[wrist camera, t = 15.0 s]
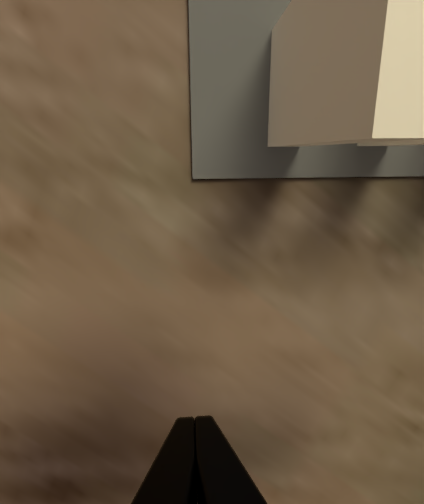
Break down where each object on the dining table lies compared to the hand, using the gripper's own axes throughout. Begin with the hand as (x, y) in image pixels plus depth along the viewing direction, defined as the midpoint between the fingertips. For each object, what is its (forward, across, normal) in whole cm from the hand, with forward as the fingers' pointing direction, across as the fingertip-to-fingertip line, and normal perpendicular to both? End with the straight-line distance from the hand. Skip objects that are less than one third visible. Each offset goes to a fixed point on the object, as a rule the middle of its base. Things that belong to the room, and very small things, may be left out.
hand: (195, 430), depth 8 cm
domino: (+10, -5, -9) cm, 15 cm away
